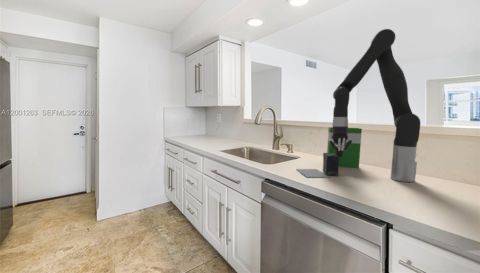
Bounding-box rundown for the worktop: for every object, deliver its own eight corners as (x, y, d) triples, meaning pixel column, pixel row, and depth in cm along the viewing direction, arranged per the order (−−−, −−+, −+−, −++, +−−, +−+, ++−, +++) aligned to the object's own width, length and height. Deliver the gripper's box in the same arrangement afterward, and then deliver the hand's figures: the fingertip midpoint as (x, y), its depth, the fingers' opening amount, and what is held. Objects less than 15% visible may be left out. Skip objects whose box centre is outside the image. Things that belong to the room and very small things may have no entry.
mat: (316, 169, 129) (316, 169, 129) (329, 177, 113) (329, 176, 113) (296, 169, 128) (296, 169, 128) (306, 177, 112) (306, 176, 112)
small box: (339, 175, 116) (339, 156, 115) (326, 175, 117) (326, 155, 116) (334, 170, 126) (334, 152, 125) (322, 170, 127) (322, 152, 126)
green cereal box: (355, 165, 143) (358, 127, 141) (358, 167, 136) (361, 128, 133) (326, 163, 147) (328, 127, 145) (328, 165, 140) (330, 127, 138)
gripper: (331, 126, 115) (330, 159, 117) (356, 125, 116) (355, 158, 118) (325, 125, 123) (324, 156, 125) (348, 124, 124) (347, 155, 125)
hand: (339, 157), depth 121 cm, fingers closed
